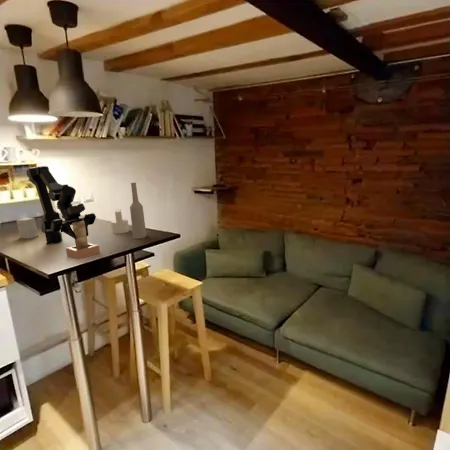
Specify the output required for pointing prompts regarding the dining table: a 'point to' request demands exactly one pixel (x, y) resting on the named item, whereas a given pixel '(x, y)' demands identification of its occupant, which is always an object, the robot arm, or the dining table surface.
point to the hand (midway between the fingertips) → (81, 237)
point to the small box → (27, 228)
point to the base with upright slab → (119, 223)
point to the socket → (82, 251)
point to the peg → (80, 235)
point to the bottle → (137, 215)
